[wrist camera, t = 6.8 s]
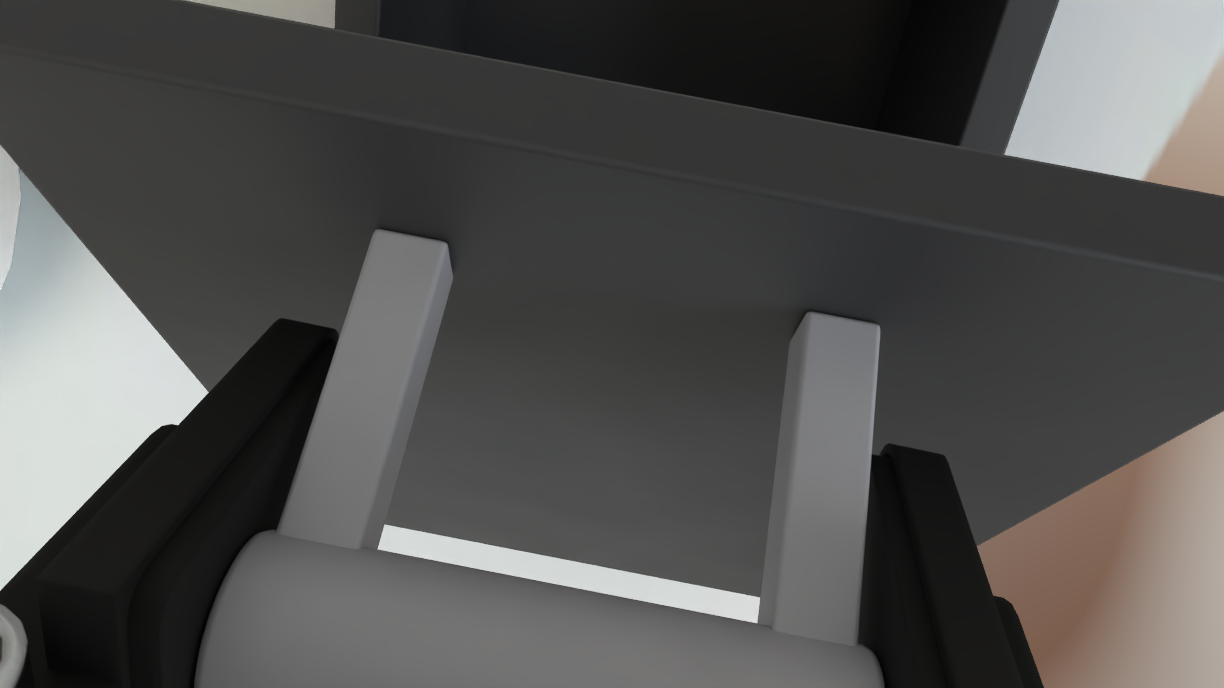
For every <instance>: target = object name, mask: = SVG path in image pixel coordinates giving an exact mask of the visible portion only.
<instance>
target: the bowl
mask: <svg viewBox="0 0 1224 688" xmlns="http://www.w3.org/2000/svg"><path fill="white" fill-rule="evenodd" d="M20 200H21V192H20V178H19V167H18V165H17V164H16V163H15V162H14V161H13V159H12V158H11V157H10V156H9V155H8V153H7V152H6V151H5V150H4V149H3V148H2V146H1V145H0V290H1V288H2V286H3V283H4V281H5V278H6V276H7V274H8V271H9V269H10V266H11V263H12V256H13V249H14V242H15V235H16V228H17V221H18V214H19V207H20Z"/></svg>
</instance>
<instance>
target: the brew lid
mask: <svg viewBox="0 0 1224 688" xmlns="http://www.w3.org/2000/svg"><path fill="white" fill-rule="evenodd" d="M0 145H1V146H2V148H3V149H4V150H5V151H6V152H7V153H8V155H9V156H10V157H11V158H12V159H13V161H14V162H15V163H16V164H17V165H18V167H19V168H20V169H21V170H22V171H23V172H24V174H25V175H26V176H27V177H28V178H29V180H30V181H31V182H32V183H33V184H34V186H35V187H36V188H37V189H38V190H39V191H40V193H41V194H42V195H43V196H44V197H45V199H46V200H47V201H48V202H49V203H50V204H51V206H52V207H53V208H54V209H55V210H56V212H57V213H58V214H59V215H60V216H61V218H62V219H63V220H64V221H65V222H66V223H67V225H68V226H69V227H70V228H71V229H72V231H73V232H74V233H75V234H76V235H77V237H78V238H79V239H80V240H81V241H82V242H83V244H84V245H85V246H86V247H87V248H88V250H89V251H90V252H91V253H92V254H93V255H94V257H95V258H96V259H97V260H98V261H99V263H100V264H101V265H102V266H103V267H104V269H105V270H106V271H107V272H108V273H109V274H110V276H111V277H112V278H113V279H114V280H115V282H116V283H117V284H118V285H119V286H120V288H121V289H122V290H123V291H124V292H125V293H126V295H127V296H128V297H129V298H130V299H131V301H132V302H133V303H134V304H135V305H136V306H137V308H138V309H139V310H140V311H141V312H142V314H143V315H144V316H145V317H146V318H147V320H148V321H149V322H150V323H151V324H152V325H153V327H154V328H155V329H156V330H157V331H158V333H159V334H160V335H161V336H162V337H163V339H164V340H165V341H166V342H167V343H168V344H169V346H170V347H171V348H172V349H173V350H174V352H175V353H176V354H177V355H178V356H179V357H180V359H181V360H182V361H183V362H184V363H185V365H186V366H187V367H188V368H189V369H190V371H191V372H192V373H193V374H194V375H195V376H196V378H197V379H198V380H199V381H200V382H201V384H202V385H203V386H204V387H205V388H206V390H207V391H208V392H210V391H211V390H212V389H213V388H214V387H215V386H216V384H217V383H218V382H219V381H220V380H221V379H222V378H223V377H224V376H225V375H226V374H227V373H228V372H229V371H230V369H231V368H232V367H233V366H234V365H235V364H236V363H237V362H238V361H239V360H240V359H241V358H242V357H243V356H244V354H245V353H246V352H247V351H248V350H249V349H250V348H251V347H252V346H253V345H254V344H255V343H256V342H257V341H258V339H259V338H260V337H261V336H262V335H263V334H264V333H265V332H266V331H267V330H268V329H269V328H270V327H271V326H272V324H273V323H274V322H276V321H277V320H278V319H280V318H285V319H290V320H295V321H300V322H305V323H310V324H314V325H319V326H324V327H329V328H334V329H336V331H337V332H338V335H339V340H338V343H337V346H336V349H335V352H334V355H333V358H332V361H331V365H330V368H329V371H328V374H327V377H326V380H325V383H324V386H323V389H322V392H321V395H320V398H319V401H318V404H317V407H316V411H315V414H314V417H313V420H312V423H311V426H310V429H309V432H308V435H307V438H306V441H305V444H304V447H303V450H302V453H301V457H300V460H299V463H298V466H297V469H296V472H295V475H294V478H293V481H292V484H291V487H290V490H289V493H288V496H287V499H286V503H285V506H284V509H283V512H282V515H281V518H280V521H279V524H278V527H277V530H273V529H272V530H268V531H263V532H259V533H258V534H256V535H254V536H253V537H252V538H251V539H250V540H249V541H248V542H247V543H246V544H245V545H244V547H243V548H242V549H241V551H240V552H239V553H238V555H237V557H236V558H235V560H234V561H233V563H232V565H231V567H230V568H229V570H228V572H227V574H226V576H225V578H224V580H223V582H222V584H221V586H220V588H219V590H218V593H217V595H216V598H215V600H214V603H213V605H212V608H211V611H210V614H209V617H208V620H207V623H206V626H205V629H204V633H203V637H202V640H201V645H200V649H199V654H198V659H197V665H196V673H195V681H194V688H885V685H884V679H883V674H882V670H881V667H880V664H879V661H878V659H877V657H876V656H875V654H874V653H873V652H872V651H871V650H870V649H868V648H867V647H865V646H864V645H862V644H859V643H858V635H859V621H860V607H861V593H862V579H863V565H864V552H865V538H866V524H867V510H868V496H869V482H870V469H871V455H872V454H874V455H879V454H880V452H881V450H882V449H883V448H884V446H885V445H887V444H888V443H891V444H895V445H900V446H905V447H910V448H915V449H920V450H924V451H929V452H934V453H939V454H942V455H945V457H946V459H947V461H948V463H949V466H950V469H951V472H952V475H953V478H954V481H955V484H956V487H957V490H958V493H959V496H960V499H961V502H962V505H963V508H964V511H965V514H966V517H967V520H968V523H969V526H970V529H971V532H972V534H973V537H974V540H975V543H976V546H978V545H980V544H982V543H983V542H985V541H987V540H989V539H991V538H993V537H994V536H996V535H998V534H1000V533H1002V532H1003V531H1005V530H1007V529H1009V528H1011V527H1013V526H1015V525H1016V524H1018V523H1020V522H1022V521H1024V520H1026V519H1027V518H1029V517H1031V516H1033V515H1034V514H1036V513H1038V512H1040V511H1042V510H1044V509H1046V508H1047V507H1049V506H1051V505H1053V504H1055V503H1057V502H1058V501H1060V500H1062V499H1064V498H1066V497H1068V496H1069V495H1071V494H1073V493H1075V492H1077V491H1079V490H1080V489H1082V488H1084V487H1086V486H1088V485H1089V484H1091V483H1093V482H1095V481H1097V480H1098V479H1100V478H1102V477H1104V476H1106V475H1108V474H1110V473H1111V472H1113V471H1115V470H1117V469H1119V468H1121V467H1122V466H1124V465H1126V464H1128V463H1130V462H1131V461H1133V460H1135V459H1137V458H1139V457H1141V456H1142V455H1144V454H1146V453H1148V452H1150V451H1152V450H1153V449H1155V448H1157V447H1159V446H1161V445H1162V444H1164V443H1166V442H1168V441H1170V440H1172V439H1174V438H1175V437H1177V436H1179V435H1181V434H1182V433H1184V432H1186V431H1188V430H1190V429H1192V428H1194V427H1195V426H1197V425H1199V424H1201V423H1203V422H1205V421H1206V420H1208V419H1210V418H1212V417H1214V416H1216V415H1217V414H1219V413H1221V412H1223V411H1224V196H1219V195H1215V194H1209V193H1203V192H1199V191H1193V190H1188V189H1182V188H1177V187H1172V186H1167V185H1161V184H1156V183H1151V182H1145V181H1140V180H1135V179H1130V178H1124V177H1119V176H1114V175H1108V174H1103V173H1098V172H1092V171H1087V170H1082V169H1076V168H1071V167H1066V166H1060V165H1055V164H1050V163H1045V162H1039V161H1034V160H1029V159H1023V158H1018V157H1013V156H1007V155H1002V154H997V153H991V152H986V151H981V150H975V149H970V148H965V147H960V146H954V145H949V144H944V143H938V142H933V141H928V140H922V139H917V138H912V137H906V136H901V135H896V134H890V133H885V132H880V131H875V130H869V129H864V128H859V127H853V126H848V125H843V124H837V123H832V122H827V121H821V120H816V119H811V118H805V117H800V116H795V115H789V114H784V113H779V112H774V111H768V110H763V109H758V108H752V107H747V106H742V105H736V104H731V103H726V102H720V101H715V100H710V99H704V98H699V97H694V96H689V95H683V94H678V93H673V92H667V91H662V90H657V89H651V88H646V87H641V86H635V85H630V84H625V83H619V82H614V81H609V80H604V79H598V78H593V77H588V76H582V75H577V74H572V73H566V72H561V71H556V70H550V69H545V68H540V67H534V66H529V65H524V64H519V63H513V62H508V61H503V60H497V59H492V58H487V57H481V56H476V55H471V54H465V53H460V52H455V51H449V50H444V49H439V48H433V47H428V46H423V45H418V44H412V43H407V42H402V41H396V40H391V39H386V38H380V37H375V36H370V35H364V34H359V33H354V32H348V31H343V30H338V29H333V28H327V27H322V26H317V25H311V24H306V23H301V22H295V21H290V20H285V19H279V18H274V17H269V16H263V15H258V14H253V13H248V12H242V11H237V10H232V9H226V8H221V7H216V6H210V5H205V4H200V3H194V2H189V1H184V0H0ZM384 524H386V525H391V526H396V527H401V528H407V529H412V530H417V531H422V532H427V533H432V534H437V535H443V536H448V537H453V538H458V539H463V540H468V541H473V542H479V543H484V544H489V545H494V546H499V547H504V548H509V549H515V550H520V551H525V552H530V553H535V554H540V555H545V556H551V557H556V558H561V559H566V560H571V561H576V562H581V563H586V564H592V565H597V566H602V567H607V568H612V569H617V570H622V571H628V572H633V573H638V574H643V575H648V576H653V577H658V578H664V579H669V580H674V581H679V582H684V583H689V584H694V585H700V586H705V587H710V588H715V589H720V590H725V591H730V592H736V593H741V594H746V595H751V596H756V597H761V598H760V606H759V615H758V624H756V623H751V622H746V621H741V620H736V619H731V618H726V617H720V616H715V615H710V614H705V613H700V612H695V611H690V610H685V609H679V608H674V607H669V606H664V605H659V604H654V603H649V602H644V601H638V600H633V599H628V598H623V597H618V596H613V595H608V594H602V593H597V592H592V591H587V590H582V589H577V588H572V587H567V586H561V585H556V584H551V583H546V582H541V581H536V580H531V579H525V578H520V577H515V576H510V575H505V574H500V573H495V572H490V571H484V570H479V569H474V568H469V567H464V566H459V565H454V564H449V563H443V562H438V561H433V560H428V559H423V558H418V557H413V556H407V555H402V554H397V553H392V552H387V551H382V550H377V548H378V545H379V541H380V538H381V534H382V531H383V527H384Z"/></svg>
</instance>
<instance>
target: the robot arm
mask: <svg viewBox="0 0 1224 688" xmlns="http://www.w3.org/2000/svg"><path fill="white" fill-rule="evenodd" d="M338 340H339V335H338V332H337V331H336V329H334V328H329V327H324V326H319V325H314V324H310V323H305V322H300V321H295V320H290V319H285V318H280V319H278V320H277V321H276V322H274V323H273V324H272V326H271V327H270V328H269V329H268V330H267V331H266V332H265V333H264V334H263V335H262V336H261V337H260V338H259V339H258V341H257V342H256V343H255V344H254V345H253V346H252V347H251V348H250V349H249V350H248V351H247V352H246V353H245V354H244V356H243V357H242V358H241V359H240V360H239V361H238V362H237V363H236V364H235V365H234V366H233V367H232V368H231V369H230V371H229V372H228V373H227V374H226V375H225V376H224V377H223V378H222V379H221V380H220V381H219V382H218V383H217V384H216V386H215V387H214V388H213V389H212V390H211V391H210V392H209V393H208V394H207V395H206V396H205V397H204V398H203V399H202V401H201V402H200V403H199V404H198V405H197V406H196V407H195V408H194V409H193V410H192V411H191V412H190V413H189V414H188V416H187V417H186V418H185V419H184V420H183V421H182V422H181V423H180V424H179V425H173V424H170V425H165V426H161V427H160V428H159V429H158V430H156V431H155V432H154V433H152V434H151V435H150V436H149V437H148V438H147V439H146V440H145V441H144V442H143V443H142V444H141V445H140V446H139V448H138V449H137V450H136V451H135V452H134V453H133V454H132V455H131V456H130V457H129V458H128V459H127V460H126V461H125V462H124V463H123V464H122V465H121V466H120V467H119V468H118V469H117V470H116V471H115V472H114V473H113V474H112V476H111V477H110V478H109V479H108V480H107V481H106V482H105V483H104V484H103V485H102V486H101V487H100V488H99V489H98V490H97V491H96V492H95V493H94V494H93V495H92V496H91V497H90V498H89V499H88V500H87V501H86V503H85V504H84V505H83V506H82V507H81V508H80V509H79V510H78V511H77V512H76V513H75V514H74V515H73V516H72V517H71V518H70V519H69V520H68V521H67V522H66V523H65V524H64V525H63V526H62V527H61V528H60V529H59V531H58V532H57V533H56V534H55V535H54V536H53V537H52V538H51V539H50V540H49V541H48V542H47V543H46V544H45V545H44V546H43V547H42V548H41V549H40V550H39V551H38V552H37V553H36V554H35V555H34V556H33V557H32V559H31V560H30V561H29V562H28V563H27V564H26V565H25V566H24V567H23V568H22V569H21V570H20V571H19V572H18V573H17V574H16V575H15V576H14V577H13V578H12V579H11V580H10V581H9V582H8V583H7V584H6V585H5V587H4V588H3V589H2V590H1V591H0V688H194V681H195V673H196V665H197V659H198V654H199V649H200V645H201V640H202V637H203V633H204V629H205V626H206V623H207V620H208V617H209V614H210V611H211V608H212V605H213V603H214V600H215V598H216V595H217V593H218V590H219V588H220V586H221V584H222V582H223V580H224V578H225V576H226V574H227V572H228V570H229V568H230V567H231V565H232V563H233V561H234V560H235V558H236V557H237V555H238V553H239V552H240V551H241V549H242V548H243V547H244V545H245V544H246V543H247V542H248V541H249V540H250V539H251V538H252V537H253V536H254V535H256V534H258V533H259V532H263V531H268V530H272V529H273V530H277V527H278V524H279V521H280V518H281V515H282V512H283V509H284V506H285V503H286V499H287V496H288V493H289V490H290V487H291V484H292V481H293V478H294V475H295V472H296V469H297V466H298V463H299V460H300V457H301V453H302V450H303V447H304V444H305V441H306V438H307V435H308V432H309V429H310V426H311V423H312V420H313V417H314V414H315V411H316V407H317V404H318V401H319V398H320V395H321V392H322V389H323V386H324V383H325V380H326V377H327V374H328V371H329V368H330V365H331V361H332V358H333V355H334V352H335V349H336V346H337V343H338ZM858 643H859V644H862V645H864V646H865V647H867V648H868V649H870V650H871V651H872V652H873V653H874V654H875V656H876V657H877V659H878V661H879V664H880V667H881V670H882V674H883V679H884V685H885V688H1044V687H1043V684H1042V682H1041V678H1040V676H1039V673H1038V670H1037V667H1036V664H1035V662H1034V659H1033V656H1032V653H1031V651H1030V648H1029V645H1028V642H1027V640H1026V637H1025V634H1024V631H1023V628H1022V625H1021V623H1020V620H1019V617H1018V615H1017V613H1016V611H1015V609H1014V607H1013V605H1012V604H1011V603H1010V602H1009V601H1007V600H1006V599H1004V598H1001V597H997V596H993V594H992V591H991V588H990V585H989V582H988V579H987V576H986V573H985V570H984V567H983V564H982V561H981V559H980V555H979V552H978V549H977V546H976V543H975V540H974V537H973V534H972V532H971V529H970V526H969V523H968V520H967V517H966V514H965V511H964V508H963V505H962V502H961V499H960V496H959V493H958V490H957V487H956V484H955V481H954V478H953V475H952V472H951V469H950V466H949V463H948V461H947V459H946V457H945V455H942V454H939V453H934V452H929V451H924V450H920V449H915V448H910V447H905V446H900V445H895V444H891V443H888V444H887V445H885V446H884V448H883V449H882V450H881V452H880V454H879V455H874V454H872V455H871V469H870V482H869V496H868V510H867V524H866V538H865V552H864V565H863V579H862V593H861V607H860V621H859V635H858Z"/></svg>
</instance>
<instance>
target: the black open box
mask: <svg viewBox="0 0 1224 688" xmlns="http://www.w3.org/2000/svg"><path fill="white" fill-rule="evenodd" d="M1058 3H1059V0H336V2H335V29H338V30H343V31H348V32H354V33H359V34H364V35H370V36H375V37H380V38H386V39H391V40H396V41H402V42H407V43H412V44H418V45H423V46H428V47H433V48H439V49H444V50H449V51H455V52H460V53H465V54H471V55H476V56H481V57H487V58H492V59H497V60H503V61H508V62H513V63H519V64H524V65H529V66H534V67H540V68H545V69H550V70H556V71H561V72H566V73H572V74H577V75H582V76H588V77H593V78H598V79H604V80H609V81H614V82H619V83H625V84H630V85H635V86H641V87H646V88H651V89H657V90H662V91H667V92H673V93H678V94H683V95H689V96H694V97H699V98H704V99H710V100H715V101H720V102H726V103H731V104H736V105H742V106H747V107H752V108H758V109H763V110H768V111H774V112H779V113H784V114H789V115H795V116H800V117H805V118H811V119H816V120H821V121H827V122H832V123H837V124H843V125H848V126H853V127H859V128H864V129H869V130H875V131H880V132H885V133H890V134H896V135H901V136H906V137H912V138H917V139H922V140H928V141H933V142H938V143H944V144H949V145H954V146H960V147H965V148H970V149H975V150H981V151H986V152H991V153H997V154H1002V155H1004V153H1005V150H1006V148H1007V145H1008V142H1009V139H1010V136H1011V134H1012V131H1013V128H1014V125H1015V122H1016V120H1017V117H1018V114H1019V111H1020V109H1021V106H1022V103H1023V100H1024V97H1025V95H1026V92H1027V89H1028V86H1029V83H1030V81H1031V78H1032V75H1033V72H1034V70H1035V67H1036V64H1037V61H1038V58H1039V56H1040V53H1041V50H1042V47H1043V44H1044V42H1045V39H1046V36H1047V33H1048V31H1049V28H1050V25H1051V22H1052V19H1053V17H1054V14H1055V11H1056V8H1057V5H1058Z"/></svg>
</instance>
